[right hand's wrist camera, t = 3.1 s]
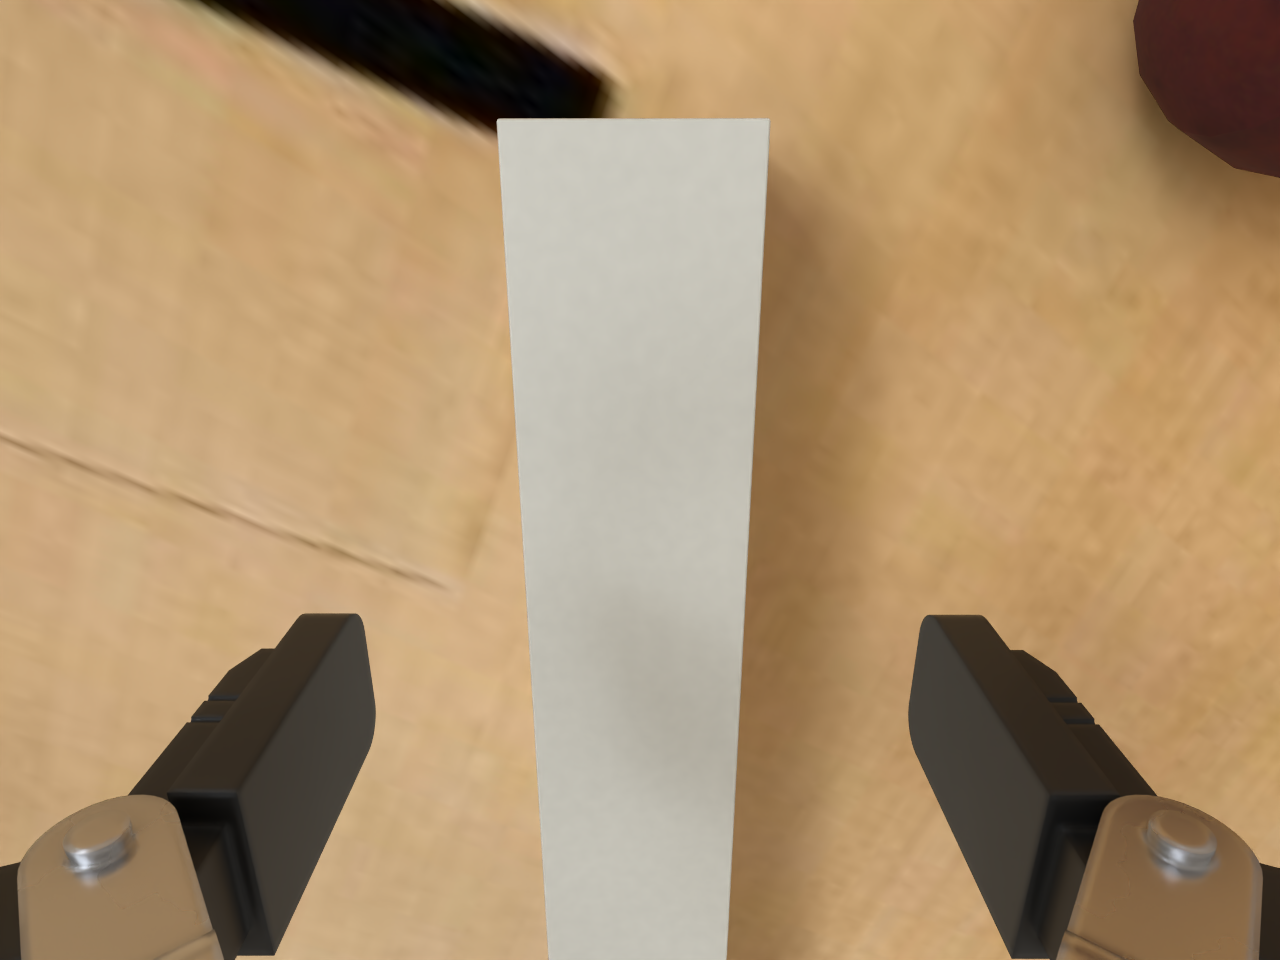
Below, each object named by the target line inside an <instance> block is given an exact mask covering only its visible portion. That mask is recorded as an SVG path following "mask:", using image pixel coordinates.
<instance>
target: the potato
mask: <svg viewBox="0 0 1280 960" xmlns="http://www.w3.org/2000/svg"><path fill="white" fill-rule="evenodd" d="M1133 23H1134V31H1135V40H1136V48H1137V56H1138V65H1139V72H1140V76H1141V77H1142V79H1143V81H1144V82H1145V84H1146V85H1147V87H1148V89H1149V90H1150V92H1151V94H1152V95H1153V97H1154V98H1155V100H1156V102H1157V103H1158V105H1159V107H1160V108H1161V110H1162V111H1163V113H1164V115H1165V116H1166V118H1167V119H1168V121H1169V122H1171V123H1172V124H1173V125H1174V126H1176V127H1177V128H1178V129H1180V130H1181V131H1182V132H1184V133H1185V134H1186V135H1188V136H1189V137H1191V138H1192V139H1194V140H1195V141H1196V142H1198V143H1199V144H1201V145H1202V146H1204V147H1205V148H1206V149H1208V150H1209V151H1211V152H1212V153H1214V154H1215V155H1217V156H1218V157H1219V158H1221V159H1222V160H1224V161H1225V162H1227V163H1228V164H1229V165H1231V166H1232V167H1234V168H1236V169H1241V170H1246V171H1251V172H1256V173H1260V174H1265V175H1270V176H1275V177H1279V178H1280V0H1139V2H1138V6H1137V9H1136V13H1135V17H1134V20H1133Z"/></svg>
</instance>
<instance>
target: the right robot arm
mask: <svg viewBox="0 0 1280 960" xmlns="http://www.w3.org/2000/svg"><path fill="white" fill-rule="evenodd" d="M375 716H376V710H375V699H374V692H373V685H372V678H371V671H370V665H369V658H368V651H367V644H366V637H365V630H364V625H363V622H362V619H361V618H360V616H359V615H358V614H302V615H301V616H299V618H298V619H297V620H296V621H295V623H294V624H293V625H292V627H291V628H290V629H289V631H288V632H287V633H286V635H285V636H284V637H283V638H282V640H281V641H280V642H279V644H278V645H277V646H276V648H275V649H260V650H259V651H257V652H256V653H254V654H253V655H252V656H250V657H249V658H247V659H246V660H244V661H243V662H241V663H240V664H238V665H237V666H235V667H234V668H232V669H231V670H229V671H228V672H227V674H226V675H225V676H224V677H223V679H222V680H221V681H220V682H219V684H218V685H217V686H216V687H215V688H214V690H213V691H212V692H211V693H210V695H209V699H208V701H204V702H203V703H202V705H201V706H200V707H199V708H198V709H197V711H196V712H195V713H194V714H193V716H192V717H191V722H190V723H186V724H185V725H184V727H183V728H182V729H181V730H180V732H179V733H178V734H177V735H176V737H175V738H174V739H173V740H172V741H171V743H170V744H169V745H168V746H167V748H166V749H165V750H164V751H163V753H162V754H161V755H160V756H159V757H158V759H157V760H156V761H155V762H154V764H153V765H152V766H151V767H150V769H149V770H148V771H147V772H146V774H145V775H144V776H143V777H142V778H141V780H140V781H139V782H138V783H137V785H136V786H135V787H134V788H133V790H132V791H131V792H130V793H129V794H128V796H122V797H117V798H113V799H109V800H105V801H102V802H99V803H96V804H93V805H91V806H89V807H86V808H84V809H82V810H80V811H78V812H76V813H74V814H72V815H70V816H68V817H67V818H65V819H63V820H62V821H60V822H59V823H57V824H56V825H54V826H53V827H52V828H50V829H49V830H48V831H47V832H45V833H44V834H43V835H42V836H41V837H40V838H39V839H38V840H37V841H36V842H35V843H34V844H33V845H32V846H31V847H30V849H29V850H28V851H27V853H26V854H25V856H24V857H23V859H22V861H21V862H19V863H15V864H11V865H6V866H2V867H0V960H235V958H236V956H274V955H275V953H276V951H277V949H278V946H279V944H280V942H281V940H282V938H283V936H284V933H285V931H286V929H287V927H288V925H289V923H290V920H291V918H292V916H293V914H294V912H295V910H296V907H297V905H298V903H299V901H300V899H301V897H302V894H303V892H304V890H305V888H306V886H307V884H308V881H309V879H310V877H311V875H312V873H313V871H314V868H315V866H316V864H317V862H318V860H319V858H320V855H321V853H322V851H323V849H324V847H325V845H326V843H327V840H328V838H329V836H330V834H331V832H332V830H333V827H334V825H335V823H336V821H337V819H338V817H339V814H340V812H341V810H342V808H343V806H344V804H345V801H346V799H347V797H348V795H349V793H350V791H351V788H352V786H353V784H354V782H355V780H356V778H357V775H358V773H359V771H360V769H361V767H362V765H363V762H364V760H365V758H366V756H367V754H368V752H369V749H370V746H371V743H372V739H373V735H374V728H375ZM908 718H909V730H910V736H911V741H912V745H913V748H914V751H915V753H916V755H917V757H918V759H919V762H920V764H921V766H922V768H923V770H924V772H925V774H926V777H927V779H928V781H929V783H930V785H931V787H932V789H933V792H934V794H935V796H936V798H937V800H938V802H939V804H940V806H941V809H942V811H943V813H944V815H945V817H946V819H947V821H948V824H949V826H950V828H951V830H952V832H953V834H954V836H955V839H956V841H957V843H958V845H959V847H960V849H961V851H962V854H963V856H964V858H965V860H966V862H967V864H968V866H969V868H970V871H971V873H972V875H973V877H974V879H975V881H976V883H977V886H978V888H979V890H980V892H981V894H982V896H983V898H984V901H985V903H986V905H987V907H988V909H989V911H990V913H991V916H992V918H993V920H994V922H995V924H996V926H997V928H998V930H999V933H1000V935H1001V937H1002V939H1003V941H1004V943H1005V945H1006V948H1007V950H1008V952H1009V954H1010V956H1011V958H1012V959H1050V960H1280V868H1277V867H1272V866H1269V865H1265V864H1261V863H1259V861H1258V859H1257V857H1256V856H1255V854H1254V853H1253V851H1252V850H1251V849H1250V847H1249V846H1248V845H1247V844H1246V843H1245V842H1244V841H1243V840H1242V839H1241V838H1240V837H1239V836H1238V835H1237V834H1236V833H1235V832H1233V831H1232V830H1231V829H1230V828H1228V827H1227V826H1226V825H1224V824H1223V823H1221V822H1220V821H1218V820H1217V819H1215V818H1213V817H1212V816H1210V815H1208V814H1206V813H1204V812H1202V811H1200V810H1198V809H1196V808H1194V807H1191V806H1189V805H1187V804H1184V803H1181V802H1178V801H1175V800H1171V799H1167V798H1163V797H1158V796H1157V795H1156V794H1155V792H1154V791H1153V790H1152V789H1151V788H1150V786H1149V785H1148V784H1147V783H1146V781H1145V780H1144V779H1143V778H1142V777H1141V775H1140V774H1139V773H1138V772H1137V770H1136V769H1135V768H1134V767H1133V766H1132V764H1131V763H1130V762H1129V761H1128V759H1127V758H1126V757H1125V756H1124V755H1123V753H1122V752H1121V751H1120V750H1119V748H1118V747H1117V746H1116V745H1115V744H1114V742H1113V741H1112V740H1111V739H1110V738H1109V736H1108V735H1107V734H1106V733H1105V731H1104V730H1103V729H1102V728H1101V727H1100V725H1095V723H1094V718H1093V717H1092V716H1091V714H1090V713H1089V712H1088V711H1087V709H1086V708H1085V707H1084V706H1083V705H1082V703H1077V697H1076V696H1075V695H1074V694H1073V692H1072V691H1071V690H1070V689H1069V687H1068V686H1067V685H1066V684H1065V683H1064V681H1063V680H1062V679H1061V678H1060V676H1059V675H1058V674H1057V673H1056V672H1055V671H1054V670H1052V669H1051V668H1049V667H1048V666H1046V665H1045V664H1043V663H1042V662H1040V661H1039V660H1037V659H1036V658H1034V657H1033V656H1031V655H1030V654H1028V653H1027V652H1025V651H1024V650H1010V649H1009V648H1008V647H1007V645H1006V644H1005V643H1004V641H1003V640H1002V639H1001V638H1000V636H999V635H998V634H997V632H996V631H995V630H994V628H993V627H992V626H991V624H990V623H989V622H988V620H987V619H986V618H985V617H983V616H982V615H927V616H926V617H925V618H924V619H923V621H922V624H921V627H920V633H919V639H918V646H917V653H916V660H915V667H914V674H913V680H912V687H911V694H910V701H909V712H908Z"/></svg>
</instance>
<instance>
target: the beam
mask: <svg viewBox="0 0 1280 960" xmlns="http://www.w3.org/2000/svg"><path fill="white" fill-rule="evenodd" d="M497 133H498V149H499V165H500V181H501V198H502V214H503V230H504V246H505V262H506V279H507V295H508V311H509V327H510V343H511V359H512V376H513V392H514V408H515V424H516V440H517V457H518V473H519V489H520V505H521V521H522V537H523V554H524V570H525V586H526V602H527V618H528V635H529V651H530V667H531V683H532V699H533V715H534V732H535V748H536V764H537V780H538V796H539V813H540V829H541V845H542V861H543V877H544V893H545V910H546V926H547V942H548V958H549V960H727V944H728V925H729V906H730V886H731V867H732V848H733V829H734V810H735V791H736V772H737V752H738V733H739V714H740V695H741V676H742V657H743V638H744V618H745V599H746V580H747V561H748V542H749V523H750V504H751V484H752V465H753V446H754V427H755V408H756V389H757V370H758V350H759V331H760V312H761V293H762V274H763V255H764V235H765V216H766V197H767V178H768V159H769V140H770V119H769V118H585V119H498V120H497Z"/></svg>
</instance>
